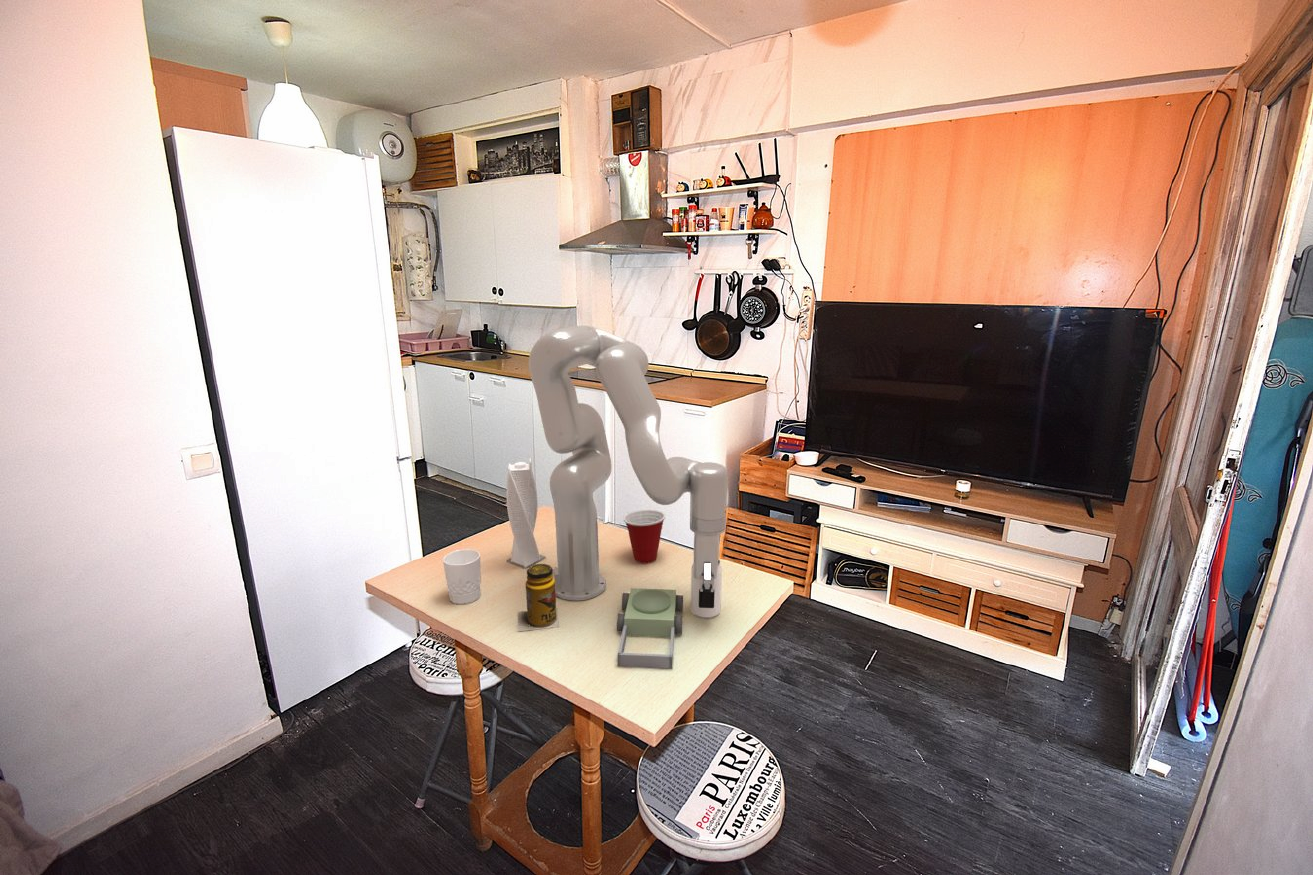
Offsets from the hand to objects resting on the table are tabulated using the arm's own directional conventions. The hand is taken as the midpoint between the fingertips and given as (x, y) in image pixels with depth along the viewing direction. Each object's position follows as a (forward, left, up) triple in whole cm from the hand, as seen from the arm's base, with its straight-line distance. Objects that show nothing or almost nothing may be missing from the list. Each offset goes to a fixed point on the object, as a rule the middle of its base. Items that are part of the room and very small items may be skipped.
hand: (705, 595), depth 125 cm
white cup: (-55, +2, -4) cm, 55 cm away
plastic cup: (-16, +24, -4) cm, 29 cm away
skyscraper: (-46, +20, -4) cm, 50 cm away
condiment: (-36, -6, -4) cm, 36 cm away
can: (0, 0, -4) cm, 4 cm away
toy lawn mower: (-11, -9, -4) cm, 15 cm away
